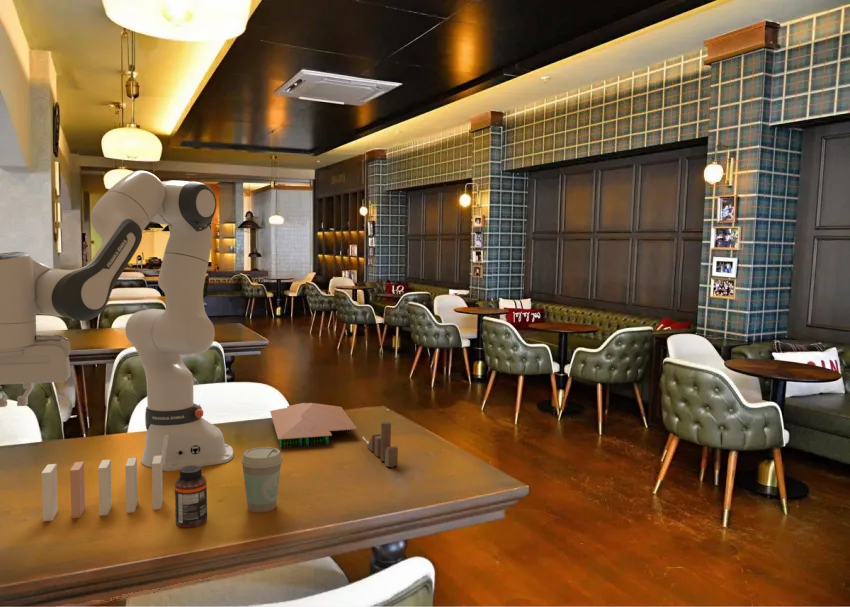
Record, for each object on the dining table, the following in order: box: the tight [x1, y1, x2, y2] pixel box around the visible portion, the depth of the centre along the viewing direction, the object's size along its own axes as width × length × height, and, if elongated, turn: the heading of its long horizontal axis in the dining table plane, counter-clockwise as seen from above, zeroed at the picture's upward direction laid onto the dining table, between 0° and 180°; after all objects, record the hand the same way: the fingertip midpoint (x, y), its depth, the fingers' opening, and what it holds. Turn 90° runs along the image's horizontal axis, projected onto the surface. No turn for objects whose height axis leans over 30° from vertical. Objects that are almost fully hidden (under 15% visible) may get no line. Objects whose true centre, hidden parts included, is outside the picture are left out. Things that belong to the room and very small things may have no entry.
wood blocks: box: [362, 421, 399, 468], centre depth 169 cm, size 25×3×10 cm, turn 23°
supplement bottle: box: [174, 465, 208, 529], centre depth 124 cm, size 6×6×11 cm
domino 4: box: [151, 455, 164, 511], centre depth 132 cm, size 2×5×10 cm, turn 19°
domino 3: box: [124, 457, 138, 514], centre depth 130 cm, size 2×5×10 cm, turn 19°
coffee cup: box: [240, 446, 284, 513], centre depth 132 cm, size 8×8×12 cm
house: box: [269, 402, 358, 449], centre depth 189 cm, size 23×33×8 cm
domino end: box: [40, 463, 59, 522], centre depth 125 cm, size 2×5×10 cm, turn 19°
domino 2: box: [97, 459, 113, 516], centre depth 129 cm, size 2×5×10 cm, turn 19°
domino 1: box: [69, 461, 86, 519], centre depth 127 cm, size 2×5×10 cm, turn 19°
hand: (12, 406), depth 122 cm, fingers closed
